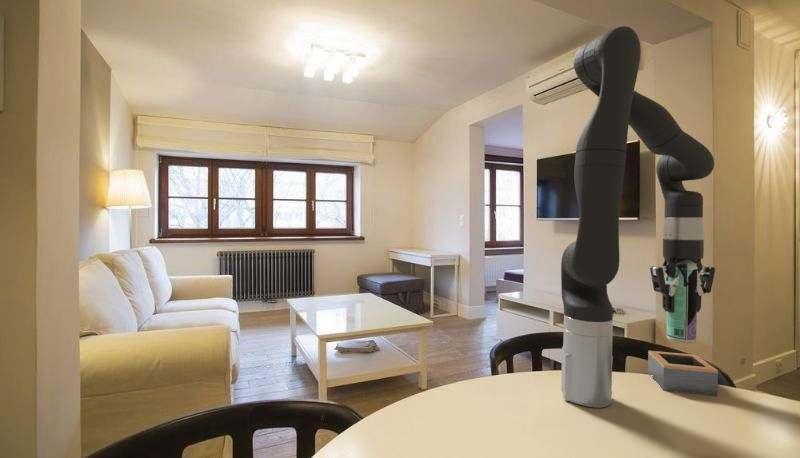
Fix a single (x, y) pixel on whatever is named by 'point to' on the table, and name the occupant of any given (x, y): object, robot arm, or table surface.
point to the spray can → (684, 304)
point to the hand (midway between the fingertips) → (681, 311)
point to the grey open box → (683, 373)
